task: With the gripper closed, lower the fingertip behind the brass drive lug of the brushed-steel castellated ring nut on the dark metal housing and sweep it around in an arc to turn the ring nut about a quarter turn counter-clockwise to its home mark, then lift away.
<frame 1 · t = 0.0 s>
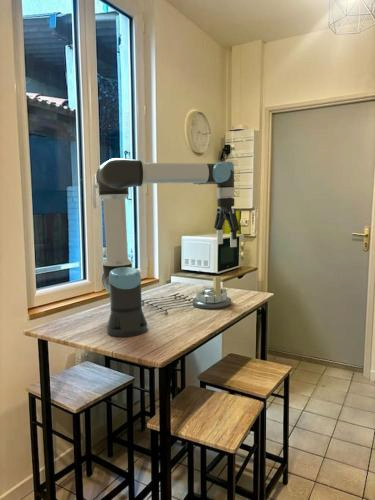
hand: (226, 245, 173), 28 cm above the table, fingers open, 13 cm apart
housing: (211, 304, 180), on the table
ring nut: (211, 286, 179), point 8 cm above the table, hinge at 0.0°
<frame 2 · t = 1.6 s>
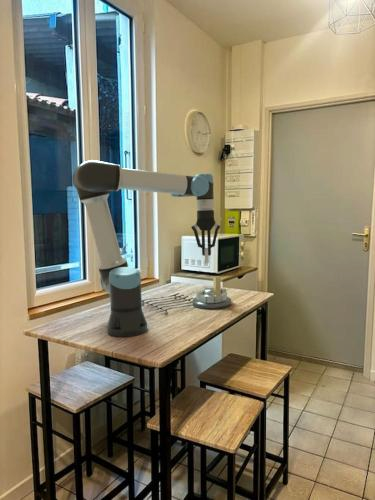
hand: (206, 262, 172), 20 cm above the table, fingers closed
nothing on the table moved.
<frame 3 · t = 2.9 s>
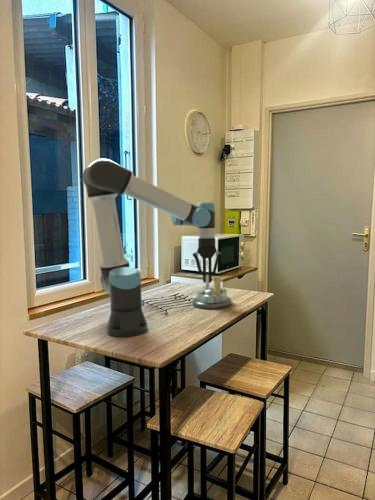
hand: (207, 289, 173), 8 cm above the table, fingers closed
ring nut: (211, 286, 179), point 8 cm above the table, hinge at 0.0°, touching gripper
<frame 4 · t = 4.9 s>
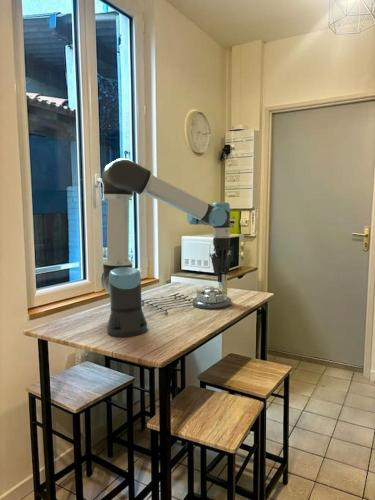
hand: (221, 288, 175), 8 cm above the table, fingers closed
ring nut: (211, 286, 179), point 8 cm above the table, hinge at 66.5°, touching gripper
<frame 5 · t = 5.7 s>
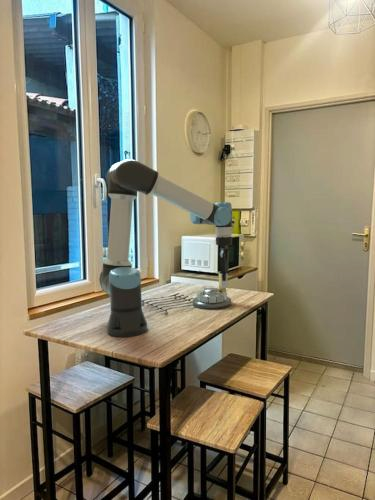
hand: (224, 287, 178), 8 cm above the table, fingers closed
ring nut: (211, 286, 179), point 8 cm above the table, hinge at 97.4°, touching gripper
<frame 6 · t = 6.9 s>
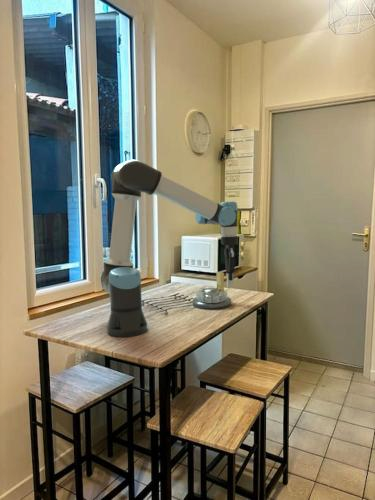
hand: (230, 286, 178), 8 cm above the table, fingers closed
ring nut: (211, 286, 179), point 8 cm above the table, hinge at 111.8°
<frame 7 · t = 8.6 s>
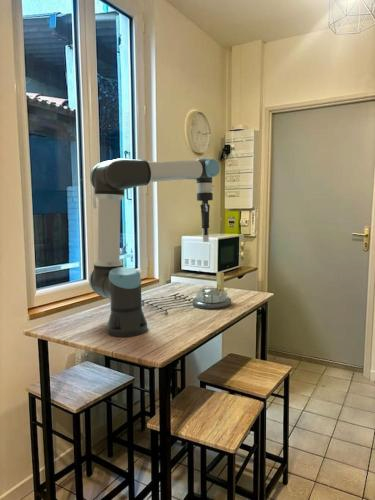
hand: (205, 241, 186), 28 cm above the table, fingers closed
nothing on the table moved.
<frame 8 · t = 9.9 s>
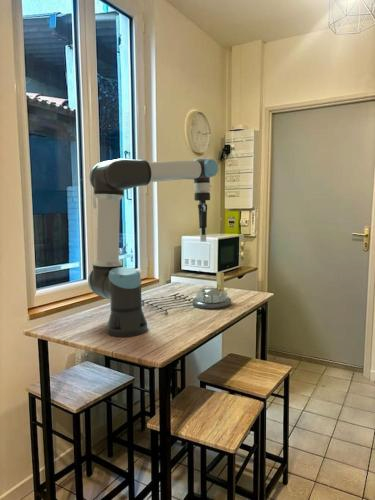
hand: (203, 241, 187), 28 cm above the table, fingers closed
nothing on the table moved.
at the end: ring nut at +112° (first picture: +0°) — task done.
